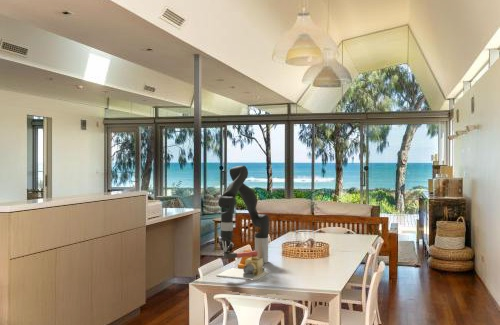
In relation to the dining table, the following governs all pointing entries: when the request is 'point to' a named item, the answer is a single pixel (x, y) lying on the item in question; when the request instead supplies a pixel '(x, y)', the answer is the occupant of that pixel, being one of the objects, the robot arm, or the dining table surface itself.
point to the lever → (240, 254)
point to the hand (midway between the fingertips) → (226, 257)
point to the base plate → (239, 274)
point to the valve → (253, 267)
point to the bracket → (243, 260)
